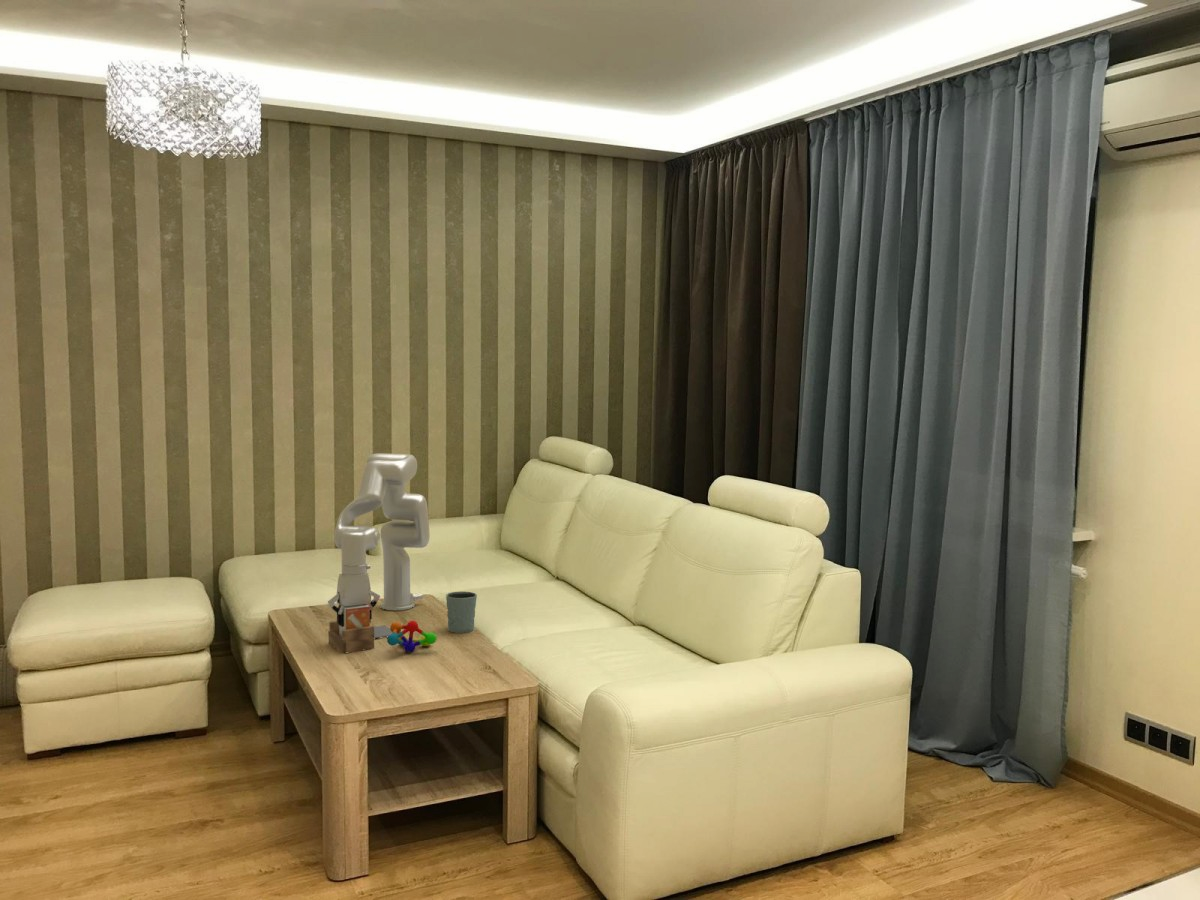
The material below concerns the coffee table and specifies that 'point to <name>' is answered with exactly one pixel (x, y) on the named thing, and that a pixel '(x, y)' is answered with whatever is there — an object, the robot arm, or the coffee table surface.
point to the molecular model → (409, 641)
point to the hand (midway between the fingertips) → (354, 623)
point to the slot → (351, 638)
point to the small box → (355, 617)
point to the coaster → (382, 631)
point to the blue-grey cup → (461, 611)
